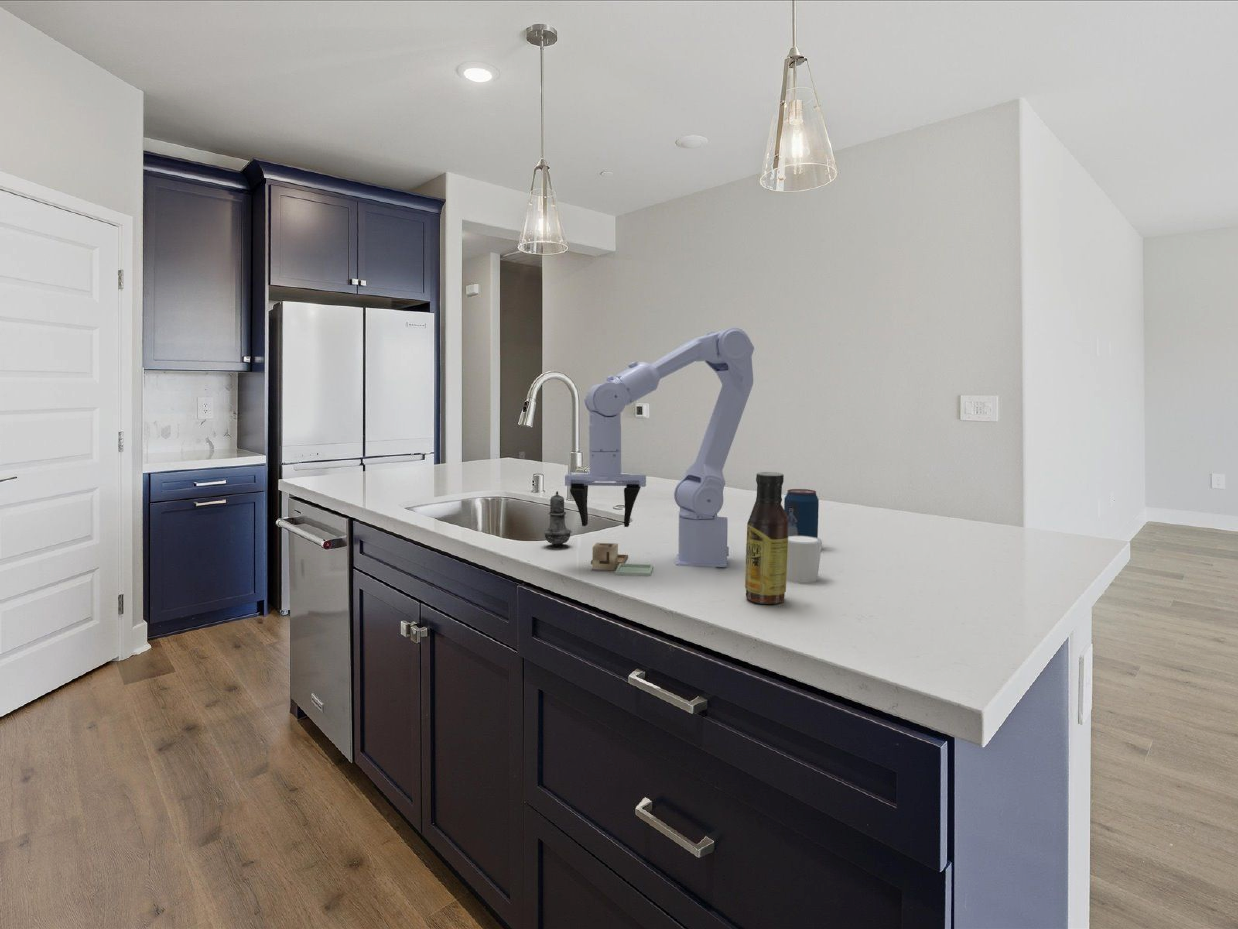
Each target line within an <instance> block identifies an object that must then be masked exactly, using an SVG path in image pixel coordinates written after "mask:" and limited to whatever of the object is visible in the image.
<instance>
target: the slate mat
mask: <svg viewBox="0 0 1238 929" xmlns="http://www.w3.org/2000/svg"><path fill="white" fill-rule="evenodd" d="M617 567H618V565H617ZM617 567H616V569H617ZM616 569H615V570H598V569H593V567H592V568H591V571H593V572H615V571H616Z"/></svg>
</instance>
